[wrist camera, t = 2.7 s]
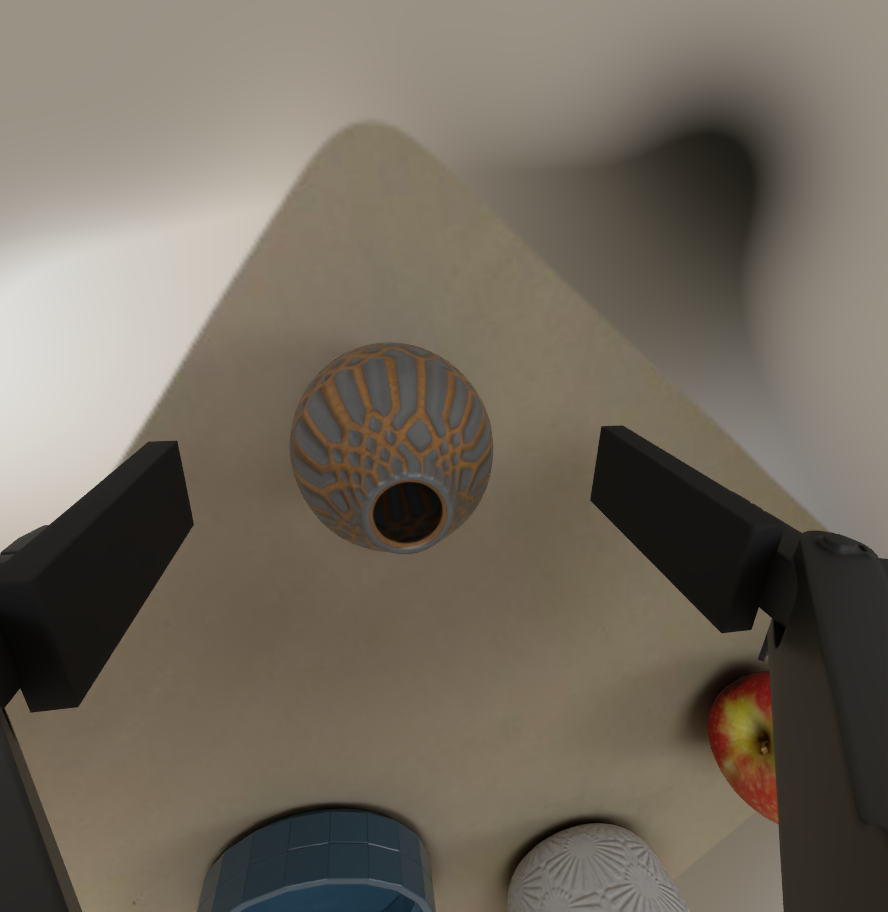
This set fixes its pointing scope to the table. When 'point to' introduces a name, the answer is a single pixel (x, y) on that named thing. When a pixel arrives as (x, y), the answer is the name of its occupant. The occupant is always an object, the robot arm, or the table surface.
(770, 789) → the apple
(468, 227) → the table surface
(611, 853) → the planter
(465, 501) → the vase
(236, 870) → the bowl
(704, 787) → the table surface
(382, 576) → the table surface
